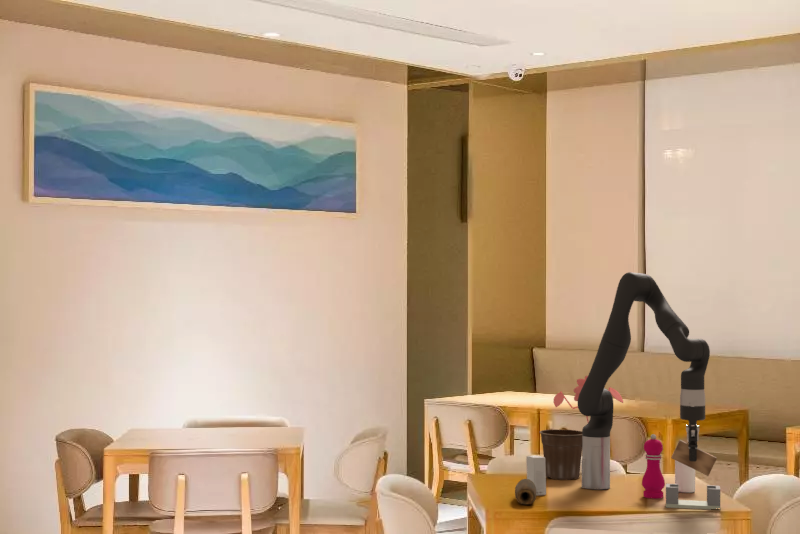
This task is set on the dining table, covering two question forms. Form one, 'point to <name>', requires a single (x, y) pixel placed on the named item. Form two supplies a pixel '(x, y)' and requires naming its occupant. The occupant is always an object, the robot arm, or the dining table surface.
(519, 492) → the brown twine roll
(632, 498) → the dining table surface
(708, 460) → the slat
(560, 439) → the plant pot
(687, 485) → the can
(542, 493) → the skincare box
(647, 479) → the pepper mill
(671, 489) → the holder
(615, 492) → the dining table surface
